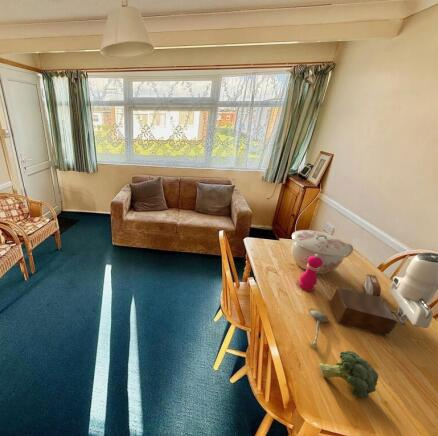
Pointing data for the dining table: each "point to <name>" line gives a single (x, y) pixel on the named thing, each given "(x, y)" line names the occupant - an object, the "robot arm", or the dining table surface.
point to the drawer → (395, 319)
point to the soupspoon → (318, 323)
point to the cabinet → (362, 311)
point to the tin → (372, 285)
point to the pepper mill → (310, 273)
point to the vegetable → (353, 373)
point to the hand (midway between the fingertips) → (401, 317)
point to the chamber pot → (319, 249)
